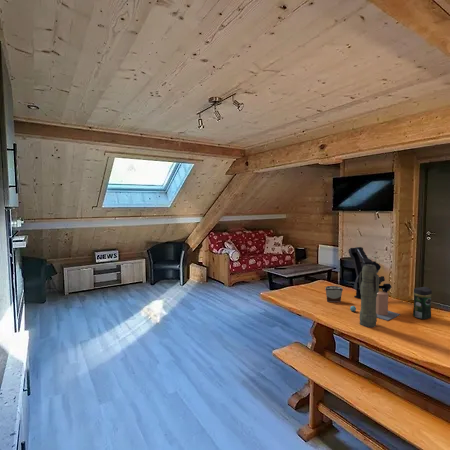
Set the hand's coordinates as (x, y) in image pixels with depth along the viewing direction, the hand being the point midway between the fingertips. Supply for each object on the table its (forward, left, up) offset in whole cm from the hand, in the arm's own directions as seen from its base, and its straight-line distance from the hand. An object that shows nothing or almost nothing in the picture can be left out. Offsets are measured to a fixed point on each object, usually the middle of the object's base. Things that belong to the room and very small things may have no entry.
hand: (378, 299), depth 193 cm
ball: (+12, -10, -8) cm, 18 cm away
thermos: (+24, +7, -8) cm, 27 cm away
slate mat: (+2, +3, -8) cm, 9 cm away
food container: (+4, -31, -9) cm, 32 cm away
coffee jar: (-13, +20, -9) cm, 25 cm away
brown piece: (+2, +3, -8) cm, 9 cm away
